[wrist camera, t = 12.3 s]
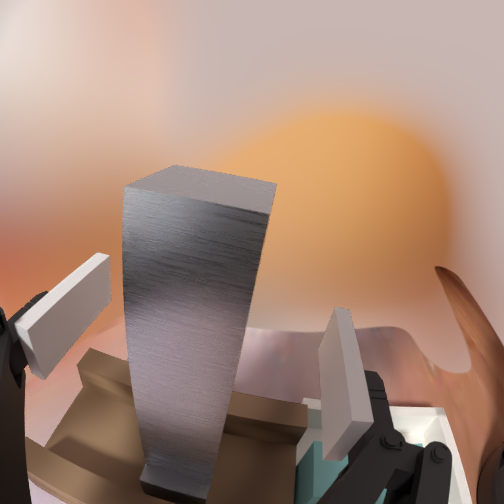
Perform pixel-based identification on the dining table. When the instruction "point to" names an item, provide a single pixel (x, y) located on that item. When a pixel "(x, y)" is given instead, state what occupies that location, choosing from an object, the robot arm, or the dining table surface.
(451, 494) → the tray
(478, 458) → the dining table surface
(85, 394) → the channel
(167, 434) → the brushed metal bar
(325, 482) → the teal block
